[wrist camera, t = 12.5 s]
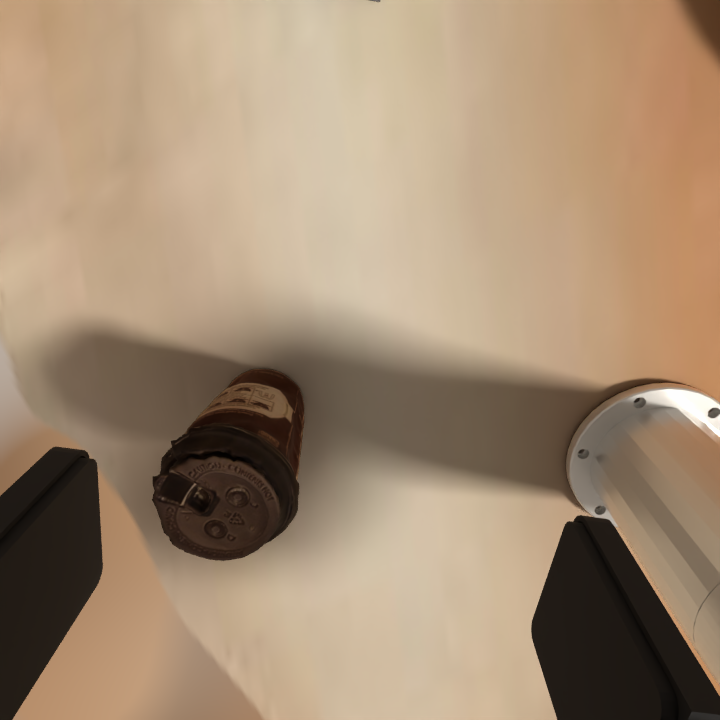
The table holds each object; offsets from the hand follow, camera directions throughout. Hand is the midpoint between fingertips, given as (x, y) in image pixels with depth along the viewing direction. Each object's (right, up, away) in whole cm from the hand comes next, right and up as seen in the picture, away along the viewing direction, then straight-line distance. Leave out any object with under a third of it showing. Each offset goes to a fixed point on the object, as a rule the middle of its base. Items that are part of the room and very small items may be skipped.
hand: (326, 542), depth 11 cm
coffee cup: (-7, 0, +31) cm, 32 cm away
